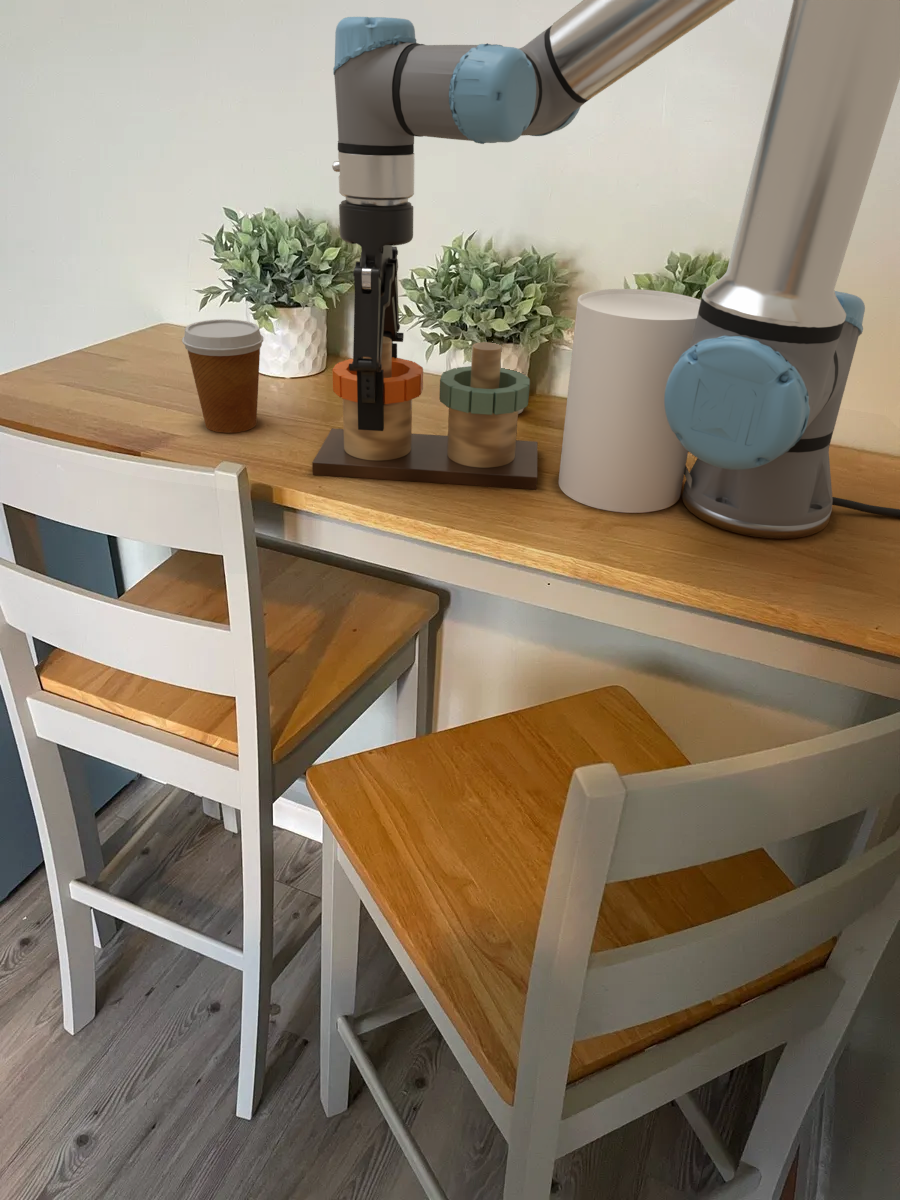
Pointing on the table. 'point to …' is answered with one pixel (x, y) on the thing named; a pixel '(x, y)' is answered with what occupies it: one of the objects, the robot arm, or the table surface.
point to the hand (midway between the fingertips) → (378, 413)
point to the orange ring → (396, 388)
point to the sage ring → (484, 392)
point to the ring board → (434, 440)
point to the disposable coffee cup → (225, 371)
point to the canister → (624, 400)
